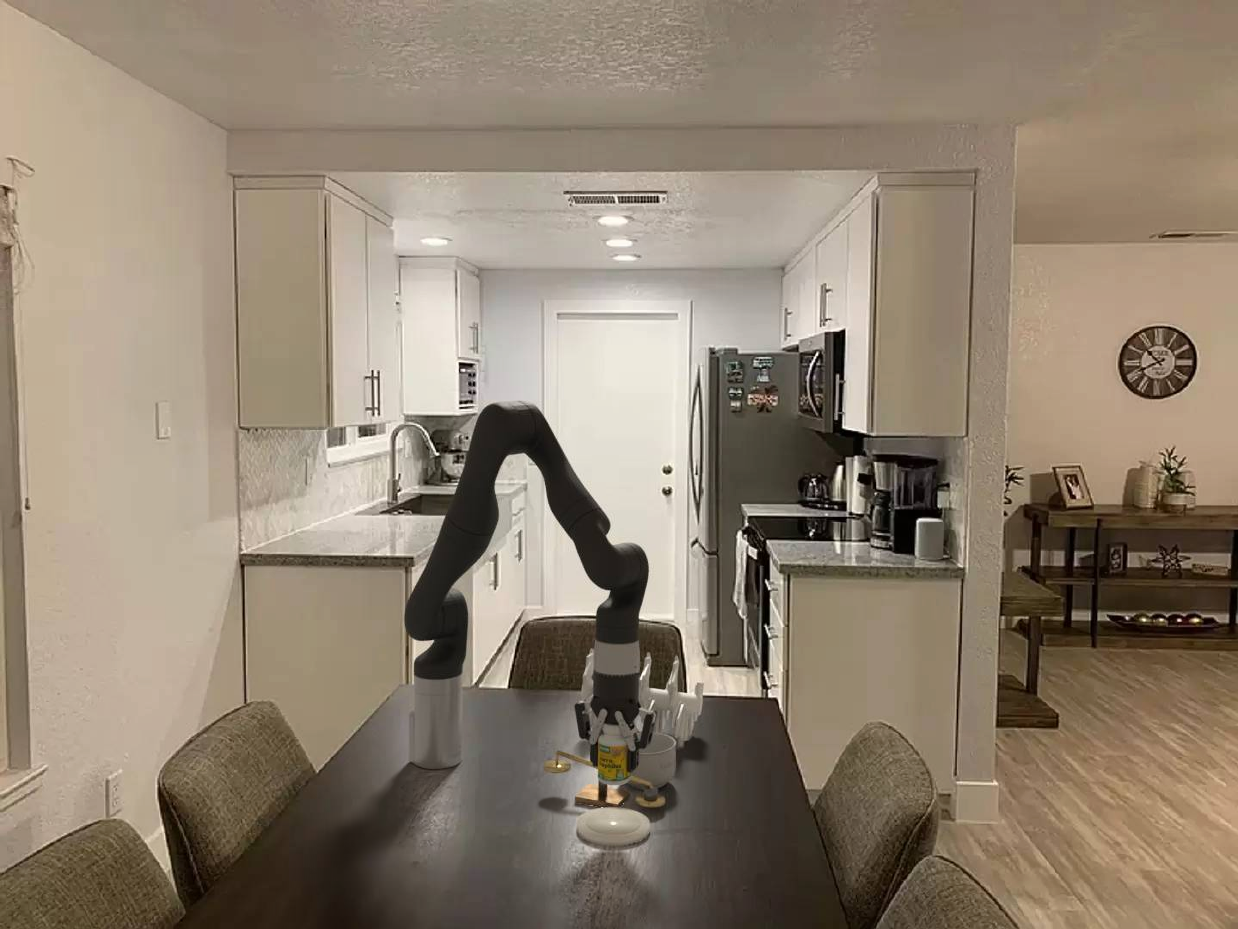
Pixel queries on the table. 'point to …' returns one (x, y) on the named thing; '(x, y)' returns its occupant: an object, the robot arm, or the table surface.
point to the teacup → (656, 761)
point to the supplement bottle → (612, 756)
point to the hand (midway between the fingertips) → (614, 767)
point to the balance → (605, 787)
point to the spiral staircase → (657, 699)
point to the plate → (613, 826)
